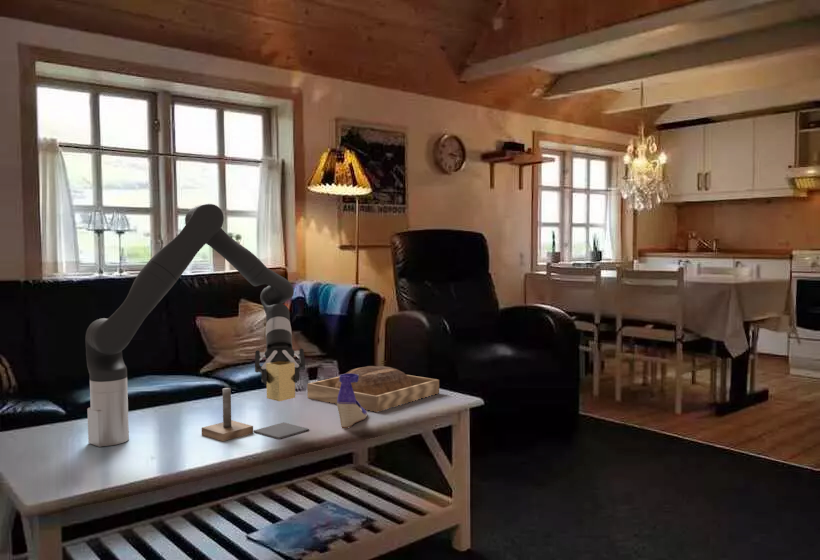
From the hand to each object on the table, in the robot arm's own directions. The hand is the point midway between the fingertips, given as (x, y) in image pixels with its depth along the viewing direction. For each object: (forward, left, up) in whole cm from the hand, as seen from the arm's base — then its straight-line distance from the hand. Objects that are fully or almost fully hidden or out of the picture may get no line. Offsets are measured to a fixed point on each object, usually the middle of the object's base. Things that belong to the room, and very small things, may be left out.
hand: (280, 382), depth 188 cm
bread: (+52, +12, -15) cm, 55 cm away
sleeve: (+1, +1, -5) cm, 5 cm away
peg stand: (-10, +11, -14) cm, 21 cm away
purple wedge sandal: (+22, -6, -15) cm, 27 cm away
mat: (+1, +1, -14) cm, 14 cm away
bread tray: (+50, +10, -14) cm, 53 cm away
